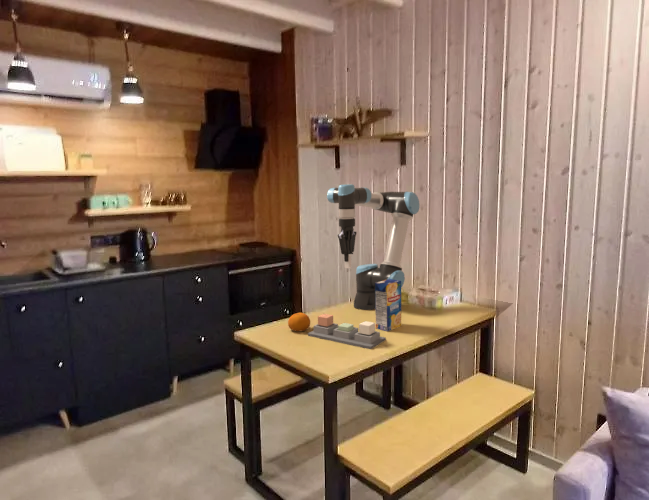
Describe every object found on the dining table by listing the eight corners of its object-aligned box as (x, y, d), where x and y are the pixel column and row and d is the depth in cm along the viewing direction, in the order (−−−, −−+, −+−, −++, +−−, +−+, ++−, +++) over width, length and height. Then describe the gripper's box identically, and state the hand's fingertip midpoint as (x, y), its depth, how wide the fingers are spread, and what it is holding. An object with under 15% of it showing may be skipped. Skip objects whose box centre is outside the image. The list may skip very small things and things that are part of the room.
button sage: (344, 331, 221) (344, 322, 220) (353, 333, 218) (353, 324, 217) (338, 334, 217) (337, 325, 216) (347, 336, 214) (347, 327, 213)
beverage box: (375, 328, 230) (375, 282, 226) (389, 323, 237) (389, 278, 234) (387, 331, 225) (386, 285, 221) (401, 325, 232) (401, 280, 229)
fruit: (286, 327, 235) (286, 311, 233) (308, 325, 237) (307, 309, 235) (289, 334, 225) (289, 317, 223) (312, 332, 227) (311, 315, 225)
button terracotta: (324, 322, 227) (324, 313, 226) (333, 323, 224) (333, 315, 223) (318, 324, 223) (317, 316, 222) (327, 326, 220) (326, 318, 219)
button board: (324, 327, 233) (324, 319, 232) (385, 340, 213) (385, 331, 213) (307, 335, 222) (307, 326, 221) (370, 349, 203) (370, 339, 202)
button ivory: (365, 329, 214) (365, 321, 213) (375, 331, 211) (375, 322, 211) (359, 333, 210) (359, 324, 209) (369, 335, 207) (369, 326, 207)
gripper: (347, 216, 233) (348, 264, 237) (332, 219, 223) (333, 269, 227) (361, 217, 229) (362, 266, 233) (346, 219, 219) (347, 271, 222)
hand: (347, 267), depth 230 cm, fingers closed
